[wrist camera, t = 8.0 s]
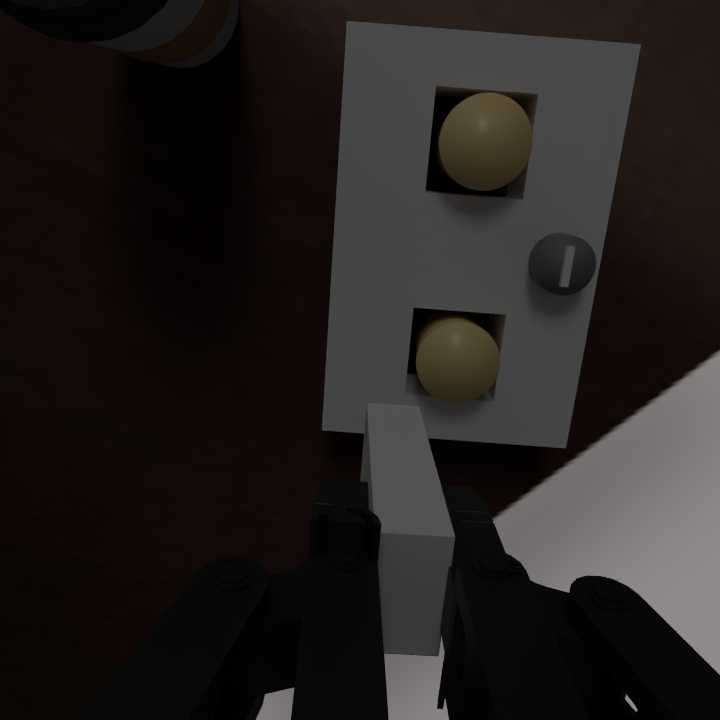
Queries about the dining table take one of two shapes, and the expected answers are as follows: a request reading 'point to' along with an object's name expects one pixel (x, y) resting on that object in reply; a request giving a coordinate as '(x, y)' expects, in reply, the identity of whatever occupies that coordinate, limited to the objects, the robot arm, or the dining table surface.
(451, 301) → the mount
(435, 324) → the knob
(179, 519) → the dining table surface
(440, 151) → the knob
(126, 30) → the coffee cup
